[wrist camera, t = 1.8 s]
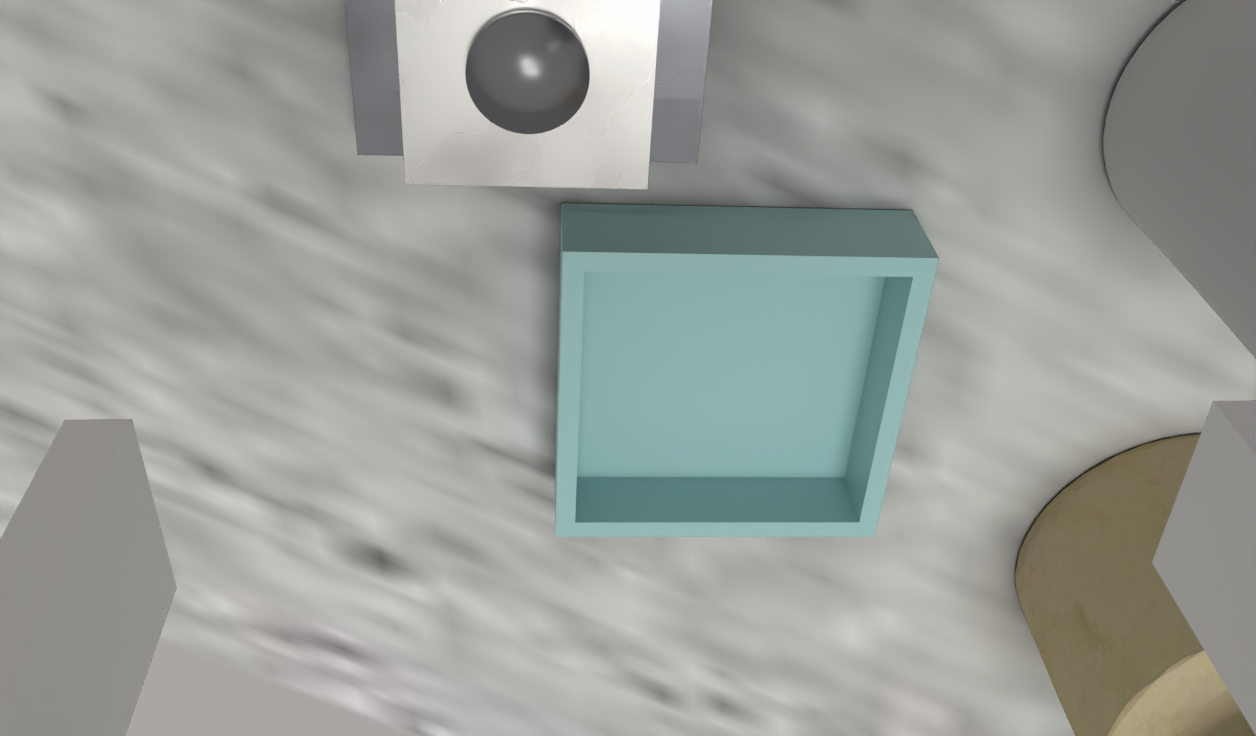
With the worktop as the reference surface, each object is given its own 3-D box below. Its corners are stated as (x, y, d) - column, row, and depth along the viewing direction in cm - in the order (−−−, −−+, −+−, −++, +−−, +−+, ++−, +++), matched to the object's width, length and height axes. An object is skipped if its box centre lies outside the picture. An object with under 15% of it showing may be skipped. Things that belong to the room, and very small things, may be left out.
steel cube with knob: (425, -158, 28) (388, -62, 21) (636, -149, 29) (665, -51, 22) (434, 47, 31) (403, 190, 24) (625, 53, 31) (648, 196, 25)
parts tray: (561, 202, 34) (562, 251, 31) (912, 210, 35) (939, 258, 32) (554, 478, 40) (555, 536, 37) (855, 479, 40) (874, 536, 38)
